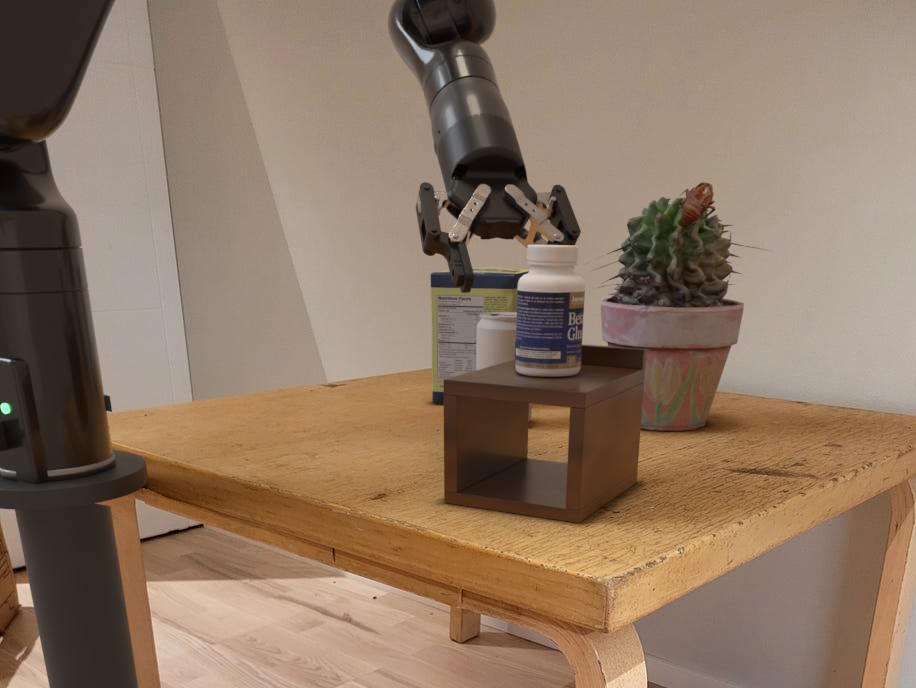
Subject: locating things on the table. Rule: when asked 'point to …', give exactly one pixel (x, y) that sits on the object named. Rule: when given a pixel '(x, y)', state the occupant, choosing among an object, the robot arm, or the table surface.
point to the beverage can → (496, 340)
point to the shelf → (506, 436)
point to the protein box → (465, 318)
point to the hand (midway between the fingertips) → (515, 285)
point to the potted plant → (675, 307)
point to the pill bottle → (550, 313)
